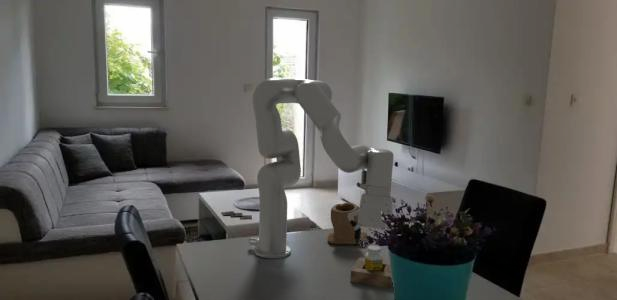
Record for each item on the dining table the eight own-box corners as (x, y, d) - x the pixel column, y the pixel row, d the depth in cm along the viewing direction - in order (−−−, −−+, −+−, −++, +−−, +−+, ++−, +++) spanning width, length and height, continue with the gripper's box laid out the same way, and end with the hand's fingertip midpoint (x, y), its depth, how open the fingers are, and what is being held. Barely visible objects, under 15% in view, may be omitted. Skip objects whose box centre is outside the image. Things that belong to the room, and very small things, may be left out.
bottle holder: (350, 281, 151) (350, 270, 150) (358, 267, 162) (359, 257, 161) (390, 288, 147) (390, 276, 146) (395, 273, 158) (396, 262, 158)
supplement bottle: (373, 272, 158) (375, 243, 157) (385, 278, 154) (386, 248, 152) (360, 276, 155) (362, 246, 154) (371, 282, 151) (373, 251, 149)
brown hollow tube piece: (327, 248, 180) (329, 207, 177) (326, 237, 191) (328, 199, 189) (369, 249, 179) (372, 209, 177) (366, 238, 191) (368, 200, 189)
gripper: (347, 189, 149) (343, 243, 152) (405, 196, 144) (399, 253, 147) (352, 183, 157) (348, 236, 159) (408, 191, 151) (403, 244, 154)
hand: (373, 244), depth 153 cm, fingers open, 9 cm apart
